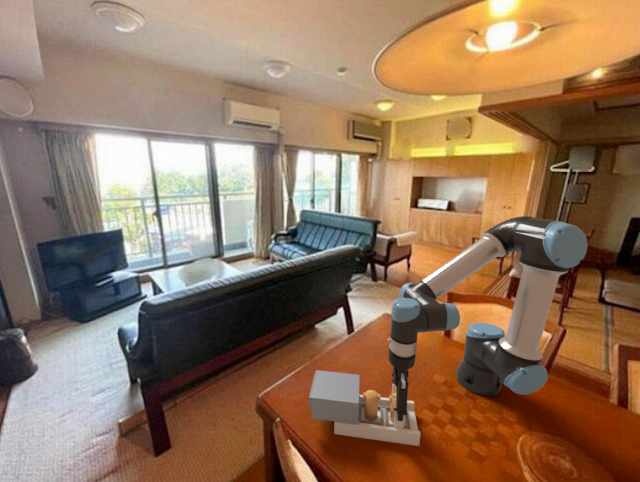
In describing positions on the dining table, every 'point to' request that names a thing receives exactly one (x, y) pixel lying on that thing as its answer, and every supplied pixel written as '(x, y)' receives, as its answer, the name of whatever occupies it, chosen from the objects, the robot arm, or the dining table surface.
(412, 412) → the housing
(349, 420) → the lid
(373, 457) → the dining table surface
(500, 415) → the dining table surface
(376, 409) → the tan rounded piece
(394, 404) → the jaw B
